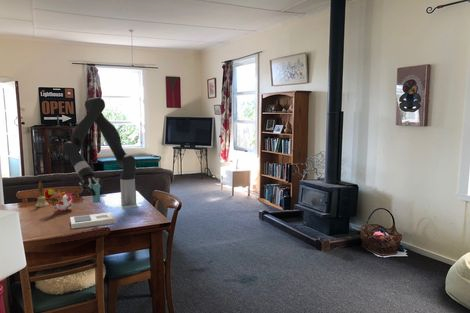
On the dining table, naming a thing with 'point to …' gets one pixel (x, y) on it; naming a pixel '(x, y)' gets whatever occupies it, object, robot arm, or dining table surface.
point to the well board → (94, 220)
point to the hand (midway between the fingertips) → (98, 194)
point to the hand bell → (41, 197)
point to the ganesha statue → (59, 199)
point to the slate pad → (82, 218)
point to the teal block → (97, 190)
